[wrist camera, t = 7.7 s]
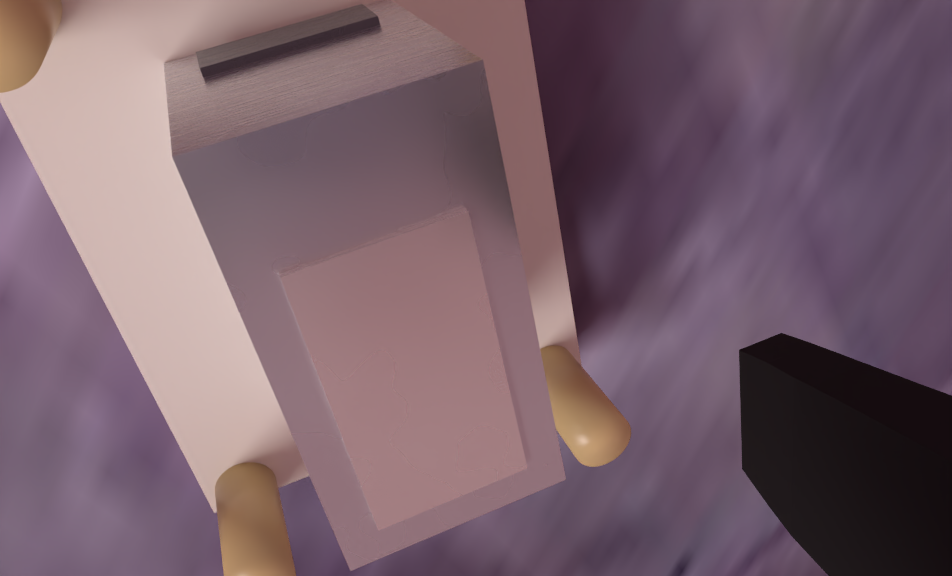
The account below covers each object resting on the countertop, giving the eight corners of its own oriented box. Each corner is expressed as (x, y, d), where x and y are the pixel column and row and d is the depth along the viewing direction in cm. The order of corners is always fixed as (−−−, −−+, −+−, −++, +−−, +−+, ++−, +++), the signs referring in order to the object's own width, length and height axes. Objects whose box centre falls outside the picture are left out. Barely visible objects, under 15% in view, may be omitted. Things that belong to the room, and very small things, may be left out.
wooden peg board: (567, 357, 22) (641, 448, 19) (215, 493, 20) (229, 621, 17) (479, -167, 16) (571, -168, 12) (-55, -35, 14) (-118, 4, 10)
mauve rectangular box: (472, 338, 20) (569, 484, 15) (303, 403, 19) (352, 577, 14) (385, -11, 15) (484, 51, 11) (159, 54, 14) (168, 150, 10)
